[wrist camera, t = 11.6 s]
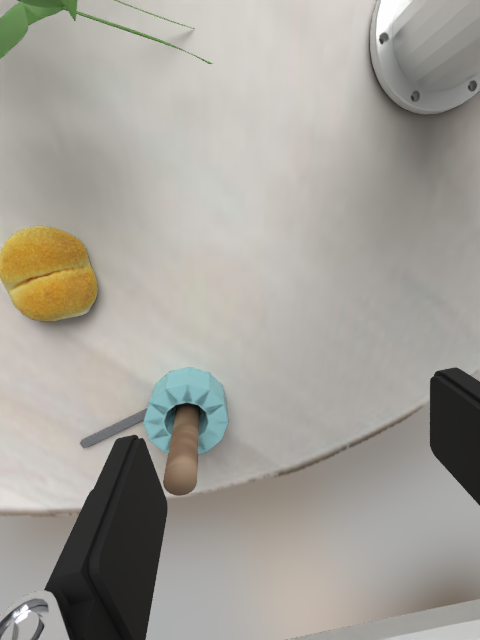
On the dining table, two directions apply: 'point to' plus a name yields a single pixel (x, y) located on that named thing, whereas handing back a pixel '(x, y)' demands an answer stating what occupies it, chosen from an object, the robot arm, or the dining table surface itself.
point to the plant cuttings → (37, 5)
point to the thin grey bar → (113, 429)
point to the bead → (187, 389)
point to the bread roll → (47, 274)
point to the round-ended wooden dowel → (183, 451)
